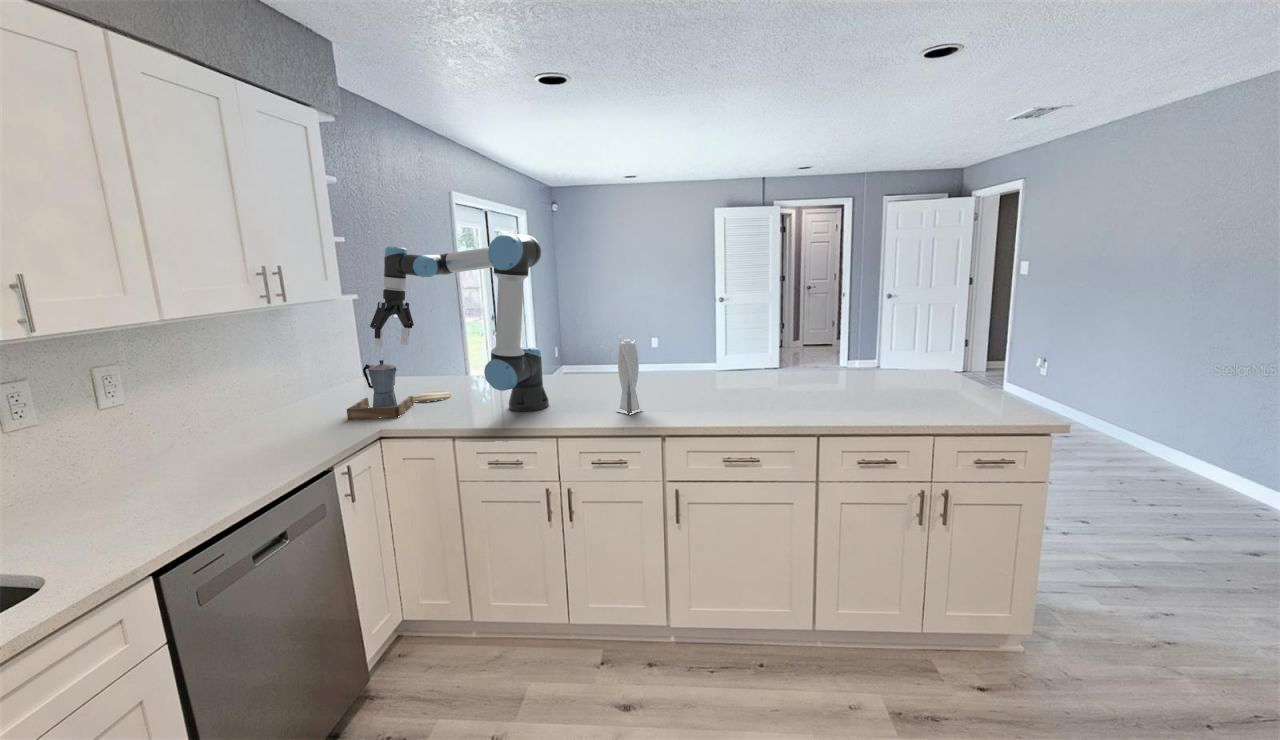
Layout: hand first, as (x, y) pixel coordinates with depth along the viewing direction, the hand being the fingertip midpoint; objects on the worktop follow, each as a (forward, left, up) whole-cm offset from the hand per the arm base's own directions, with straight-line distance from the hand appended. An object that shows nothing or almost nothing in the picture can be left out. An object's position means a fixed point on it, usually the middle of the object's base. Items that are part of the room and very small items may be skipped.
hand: (392, 346), depth 212 cm
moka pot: (+4, +5, -26) cm, 26 cm away
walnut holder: (+1, +6, -25) cm, 26 cm away
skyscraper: (-51, -73, -26) cm, 93 cm away
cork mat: (+15, -14, -25) cm, 32 cm away
